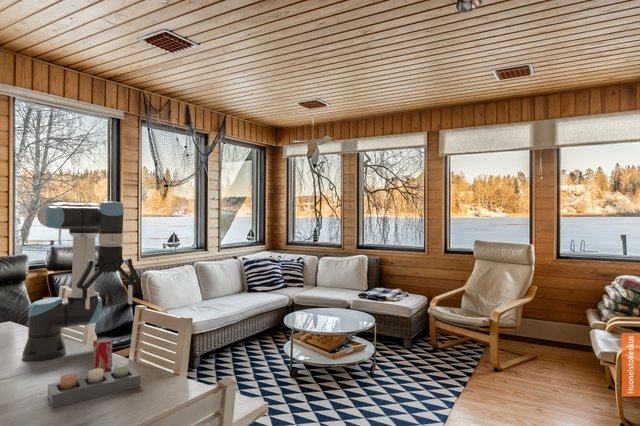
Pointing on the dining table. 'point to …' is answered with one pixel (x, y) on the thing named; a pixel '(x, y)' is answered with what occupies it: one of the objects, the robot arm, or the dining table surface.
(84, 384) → the grey slotted tray
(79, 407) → the dining table surface
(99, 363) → the beverage can
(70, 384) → the button rust
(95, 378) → the button cream
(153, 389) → the dining table surface
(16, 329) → the dining table surface
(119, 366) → the button sage
